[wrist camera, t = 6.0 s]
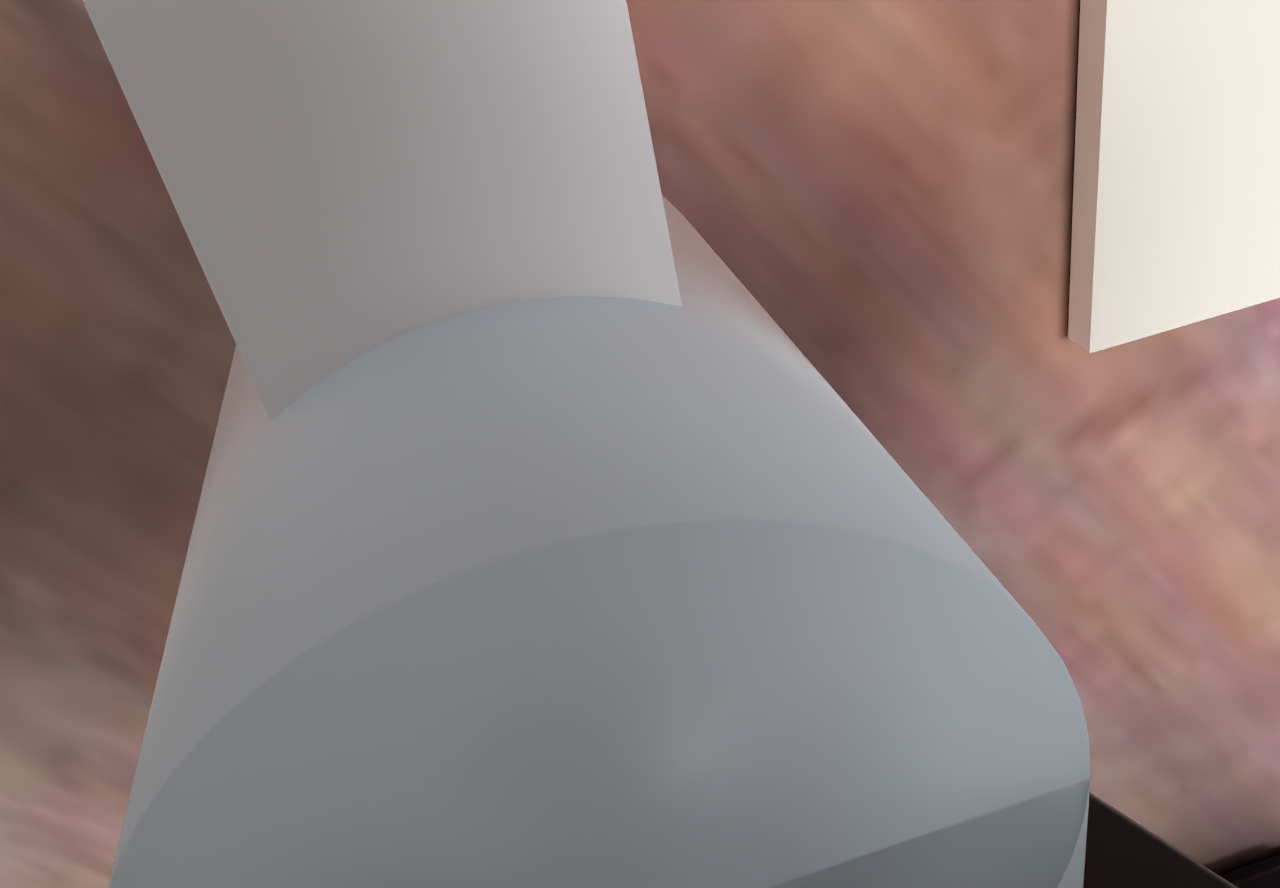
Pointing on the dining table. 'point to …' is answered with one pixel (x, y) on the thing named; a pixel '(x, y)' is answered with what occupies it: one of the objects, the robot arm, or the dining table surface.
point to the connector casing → (540, 506)
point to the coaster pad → (1174, 165)
